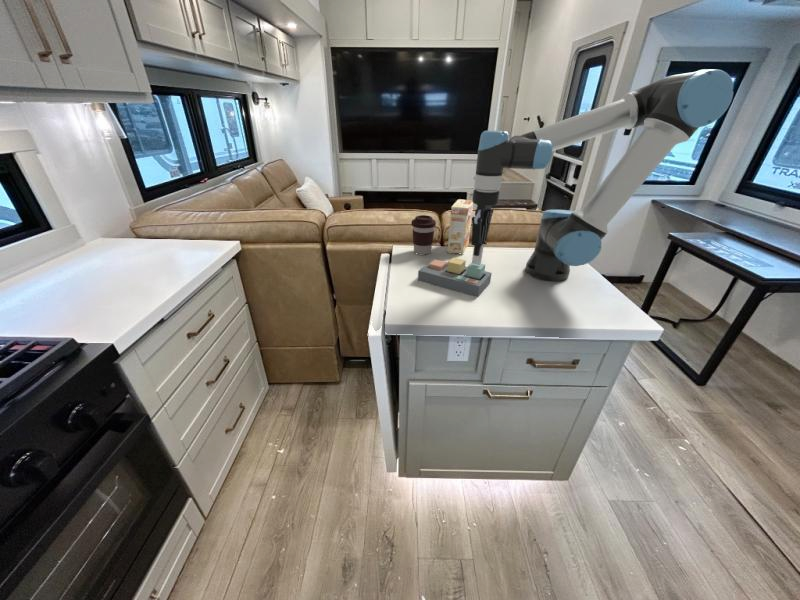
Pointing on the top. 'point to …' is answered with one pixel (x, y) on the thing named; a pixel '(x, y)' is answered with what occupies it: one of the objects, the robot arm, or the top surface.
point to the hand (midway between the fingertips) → (476, 263)
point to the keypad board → (454, 280)
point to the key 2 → (475, 270)
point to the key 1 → (438, 265)
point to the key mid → (456, 265)
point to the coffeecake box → (460, 226)
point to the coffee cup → (423, 233)
